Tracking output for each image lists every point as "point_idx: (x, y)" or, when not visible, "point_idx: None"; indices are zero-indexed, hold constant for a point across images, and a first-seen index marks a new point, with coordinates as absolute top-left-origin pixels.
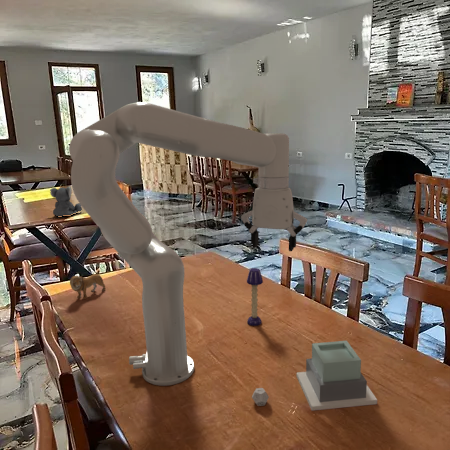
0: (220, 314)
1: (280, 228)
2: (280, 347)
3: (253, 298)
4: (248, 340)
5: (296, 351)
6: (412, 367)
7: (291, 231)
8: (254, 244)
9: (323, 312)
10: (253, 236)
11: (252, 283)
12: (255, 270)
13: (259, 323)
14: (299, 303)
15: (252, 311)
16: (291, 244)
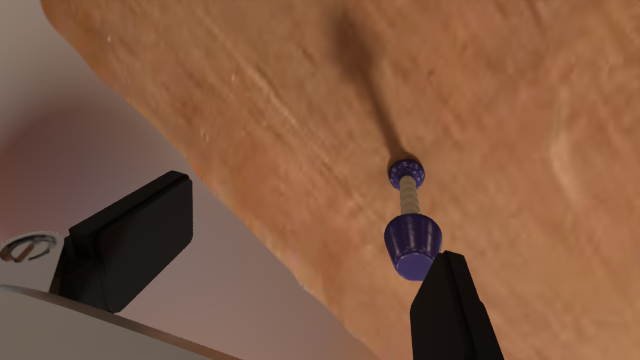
0: (495, 214)
1: (51, 301)
2: (343, 60)
3: (413, 202)
4: (423, 87)
5: (306, 45)
6: (88, 8)
7: (11, 273)
8: (452, 269)
9: (257, 217)
10: (482, 336)
11: (421, 216)
12: (413, 257)
13: (394, 165)
14: (305, 255)
15: (413, 183)
16: (136, 193)
